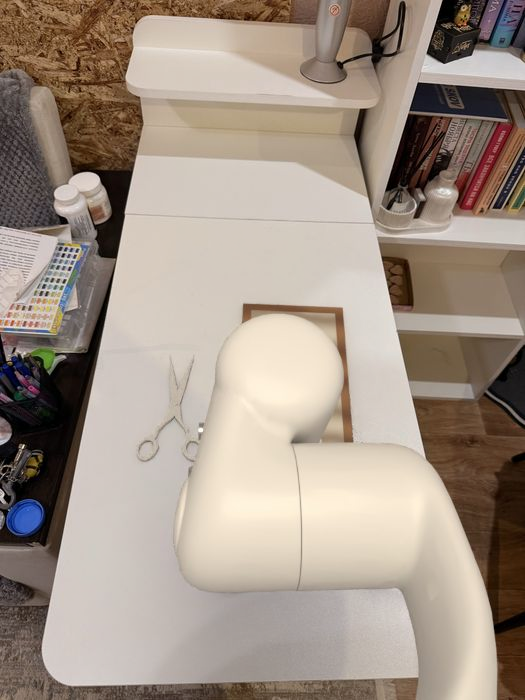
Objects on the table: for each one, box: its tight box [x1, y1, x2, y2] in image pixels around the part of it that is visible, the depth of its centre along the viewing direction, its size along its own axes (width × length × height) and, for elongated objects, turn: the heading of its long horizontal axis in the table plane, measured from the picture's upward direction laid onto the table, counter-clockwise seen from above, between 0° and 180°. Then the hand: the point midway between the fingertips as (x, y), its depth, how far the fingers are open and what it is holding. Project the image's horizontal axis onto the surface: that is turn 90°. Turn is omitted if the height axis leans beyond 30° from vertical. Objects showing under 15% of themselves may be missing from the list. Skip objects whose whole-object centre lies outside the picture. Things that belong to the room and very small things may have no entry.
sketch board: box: [241, 302, 354, 443], centre depth 85 cm, size 28×18×1 cm, turn 179°
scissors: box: [135, 355, 200, 462], centre depth 81 cm, size 11×1×20 cm
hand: (256, 493), depth 55 cm, fingers closed on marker, 3 cm apart
